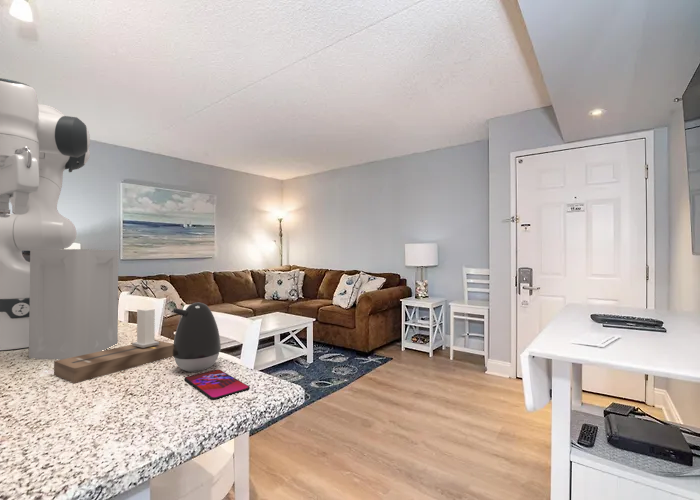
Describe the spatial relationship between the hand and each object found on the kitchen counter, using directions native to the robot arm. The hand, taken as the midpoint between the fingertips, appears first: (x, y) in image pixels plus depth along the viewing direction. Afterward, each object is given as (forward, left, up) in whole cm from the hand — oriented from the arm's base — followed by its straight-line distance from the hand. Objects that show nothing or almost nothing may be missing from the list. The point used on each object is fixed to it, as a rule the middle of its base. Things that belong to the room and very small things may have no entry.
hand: (11, 215), depth 74 cm
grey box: (-12, +13, -35) cm, 39 cm away
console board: (+8, +19, -35) cm, 41 cm away
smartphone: (+37, +30, -36) cm, 60 cm away
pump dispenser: (+24, +31, -35) cm, 53 cm away
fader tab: (+6, +25, -32) cm, 41 cm away
